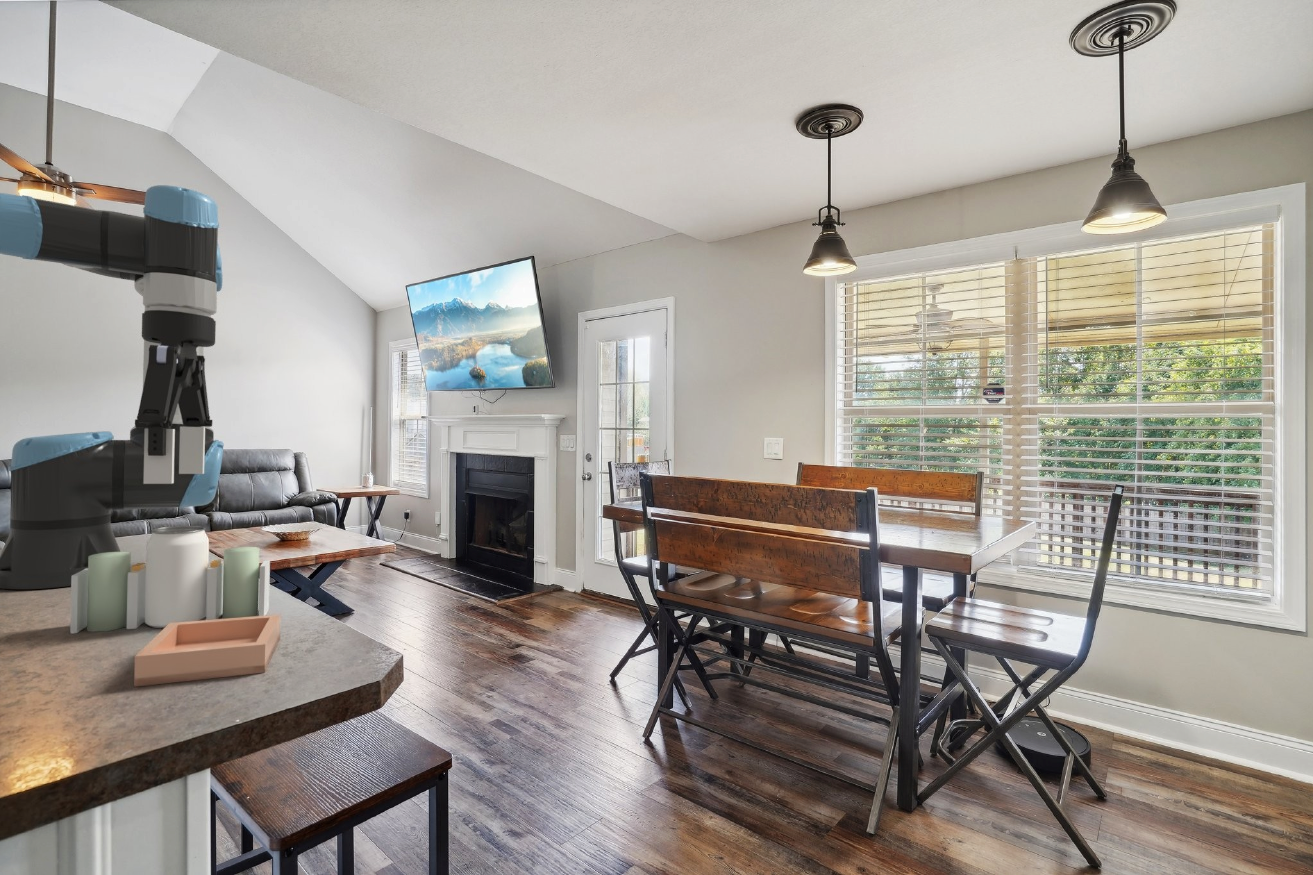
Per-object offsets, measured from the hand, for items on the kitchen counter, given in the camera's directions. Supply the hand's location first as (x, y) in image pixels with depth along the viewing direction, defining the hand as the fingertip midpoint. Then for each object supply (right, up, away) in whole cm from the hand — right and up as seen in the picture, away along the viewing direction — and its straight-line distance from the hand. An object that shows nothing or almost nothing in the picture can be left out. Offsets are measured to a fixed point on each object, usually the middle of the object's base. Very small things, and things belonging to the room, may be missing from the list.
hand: (176, 478), depth 80 cm
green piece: (+6, -19, +4) cm, 20 cm away
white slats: (0, -19, +1) cm, 19 cm away
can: (-1, -19, +1) cm, 19 cm away
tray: (+13, -19, -12) cm, 26 cm away
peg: (-7, -18, -2) cm, 20 cm away
